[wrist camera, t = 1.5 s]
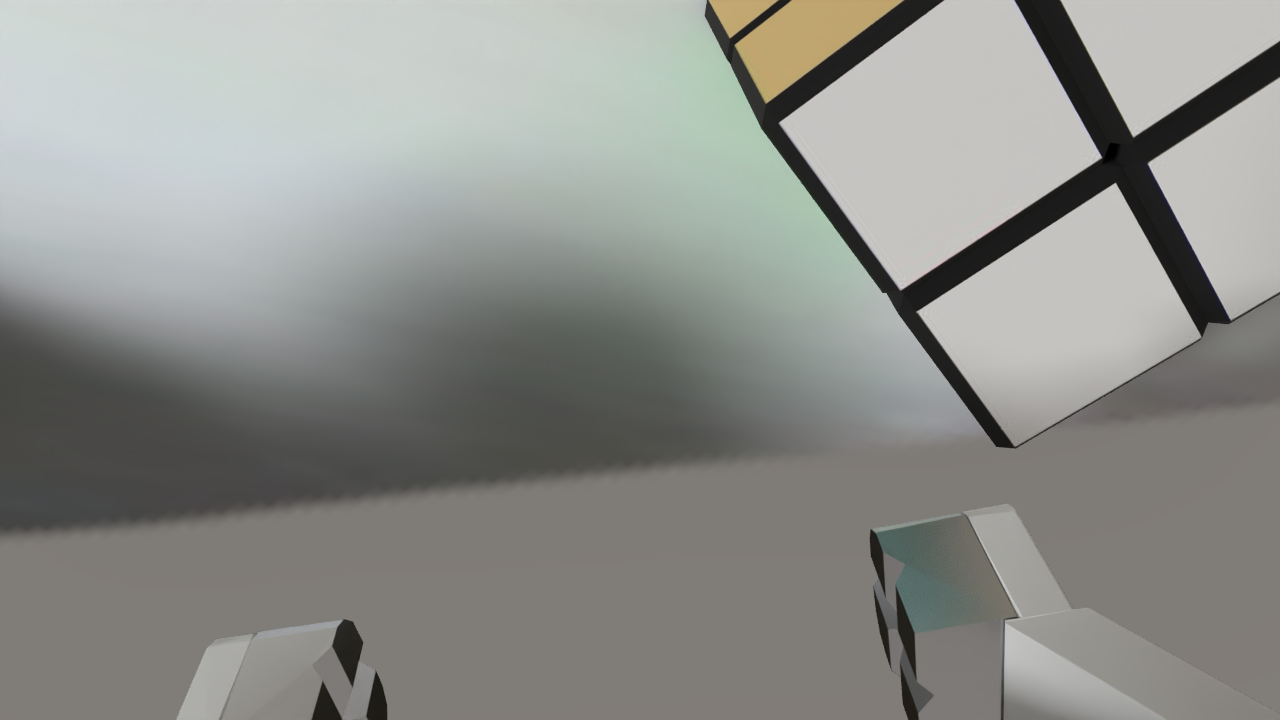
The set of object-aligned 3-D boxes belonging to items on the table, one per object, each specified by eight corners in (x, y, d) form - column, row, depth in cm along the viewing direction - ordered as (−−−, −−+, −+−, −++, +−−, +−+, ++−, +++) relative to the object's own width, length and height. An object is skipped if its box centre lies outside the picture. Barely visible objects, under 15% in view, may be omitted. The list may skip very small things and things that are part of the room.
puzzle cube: (1197, 61, 28) (1468, 196, 20) (889, 268, 31) (1008, 466, 23) (1038, -274, 24) (1295, -285, 15) (695, 2, 27) (752, 122, 18)
